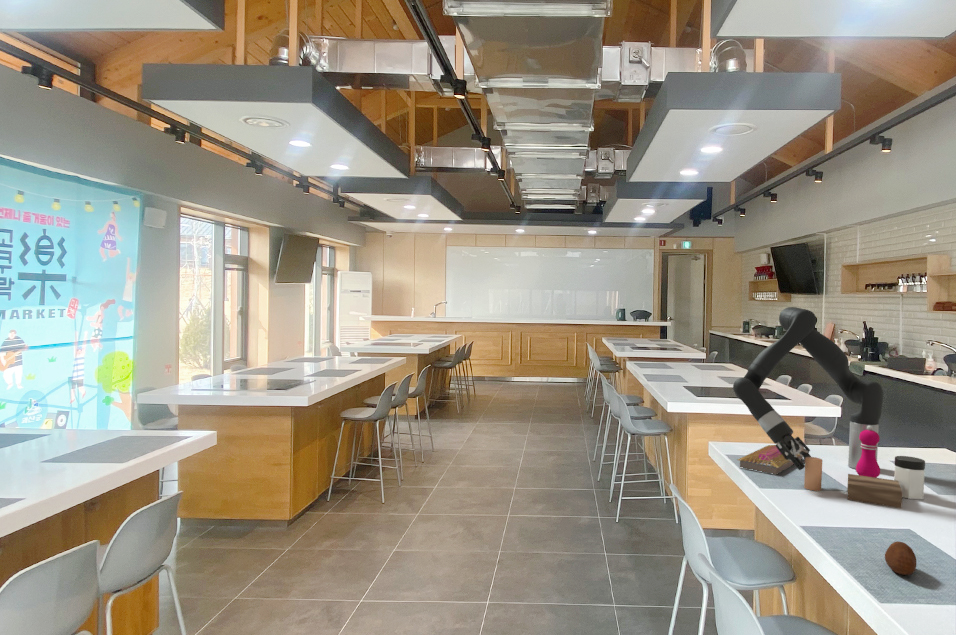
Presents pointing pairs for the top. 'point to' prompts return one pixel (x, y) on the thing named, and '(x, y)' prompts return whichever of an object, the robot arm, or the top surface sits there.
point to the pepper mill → (868, 454)
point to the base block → (874, 490)
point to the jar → (910, 476)
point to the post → (813, 473)
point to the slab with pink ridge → (767, 455)
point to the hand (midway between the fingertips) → (808, 466)
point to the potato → (901, 558)
